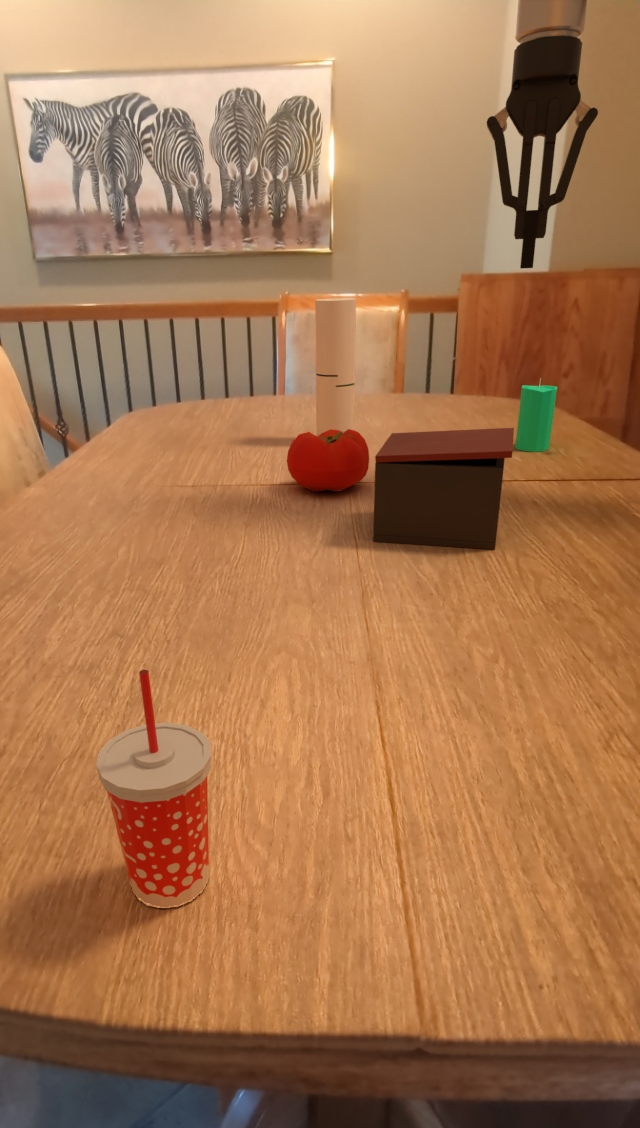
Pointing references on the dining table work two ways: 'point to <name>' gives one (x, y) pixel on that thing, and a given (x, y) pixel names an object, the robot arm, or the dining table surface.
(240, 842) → the dining table surface
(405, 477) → the open box
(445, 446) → the box lid
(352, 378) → the cylindrical container
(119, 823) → the beverage cup
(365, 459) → the tomato
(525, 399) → the candle
